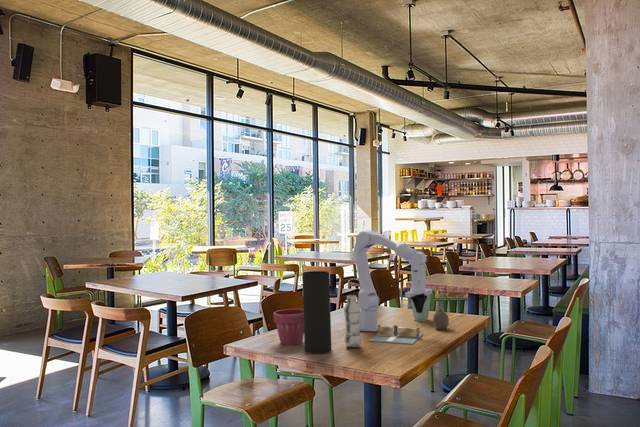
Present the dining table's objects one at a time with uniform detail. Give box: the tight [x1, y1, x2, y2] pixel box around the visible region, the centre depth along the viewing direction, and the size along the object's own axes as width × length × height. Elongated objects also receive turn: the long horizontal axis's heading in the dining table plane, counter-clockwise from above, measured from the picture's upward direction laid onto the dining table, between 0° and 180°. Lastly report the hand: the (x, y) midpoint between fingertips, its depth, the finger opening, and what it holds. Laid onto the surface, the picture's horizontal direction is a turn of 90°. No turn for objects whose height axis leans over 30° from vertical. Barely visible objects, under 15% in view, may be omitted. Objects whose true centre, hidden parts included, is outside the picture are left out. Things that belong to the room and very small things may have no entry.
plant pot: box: [273, 308, 304, 346], centre depth 220 cm, size 14×14×13 cm
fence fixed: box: [377, 324, 399, 336], centre depth 227 cm, size 9×2×5 cm, turn 66°
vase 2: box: [432, 308, 450, 331], centre depth 238 cm, size 7×7×9 cm
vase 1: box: [302, 270, 332, 355], centre depth 206 cm, size 10×10×30 cm
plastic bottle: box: [343, 294, 362, 349], centre depth 210 cm, size 6×7×20 cm
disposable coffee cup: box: [409, 287, 432, 322], centre depth 258 cm, size 11×11×15 cm
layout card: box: [368, 330, 424, 345], centre depth 223 cm, size 18×19×1 cm
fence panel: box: [398, 326, 421, 338], centre depth 223 cm, size 9×1×4 cm, turn 66°
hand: (419, 312), depth 227 cm, fingers closed
